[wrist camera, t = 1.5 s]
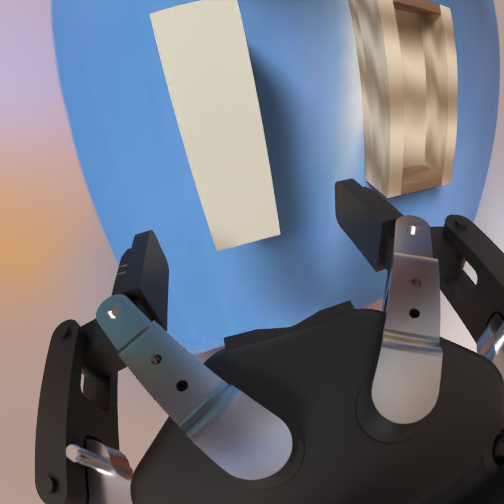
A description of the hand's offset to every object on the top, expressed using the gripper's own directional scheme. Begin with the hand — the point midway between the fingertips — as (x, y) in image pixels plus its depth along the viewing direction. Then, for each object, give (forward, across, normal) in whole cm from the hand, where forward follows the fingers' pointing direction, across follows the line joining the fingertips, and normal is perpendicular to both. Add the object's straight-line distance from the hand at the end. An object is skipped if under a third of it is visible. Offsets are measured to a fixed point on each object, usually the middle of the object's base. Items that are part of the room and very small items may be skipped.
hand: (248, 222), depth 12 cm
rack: (+12, -17, -3) cm, 21 cm away
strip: (+12, 0, -3) cm, 12 cm away
